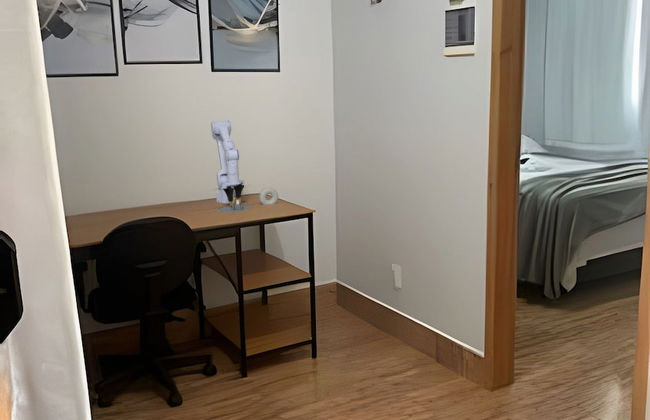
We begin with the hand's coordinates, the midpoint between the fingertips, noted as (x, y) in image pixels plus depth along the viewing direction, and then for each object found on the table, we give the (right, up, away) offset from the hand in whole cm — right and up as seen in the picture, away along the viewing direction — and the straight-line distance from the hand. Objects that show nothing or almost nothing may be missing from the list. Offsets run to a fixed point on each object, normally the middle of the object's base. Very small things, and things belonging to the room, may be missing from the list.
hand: (234, 200), depth 318 cm
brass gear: (+1, -2, 0) cm, 2 cm away
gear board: (+1, -6, -3) cm, 6 cm away
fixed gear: (+3, -5, -5) cm, 8 cm away
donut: (+17, -3, +7) cm, 19 cm away
